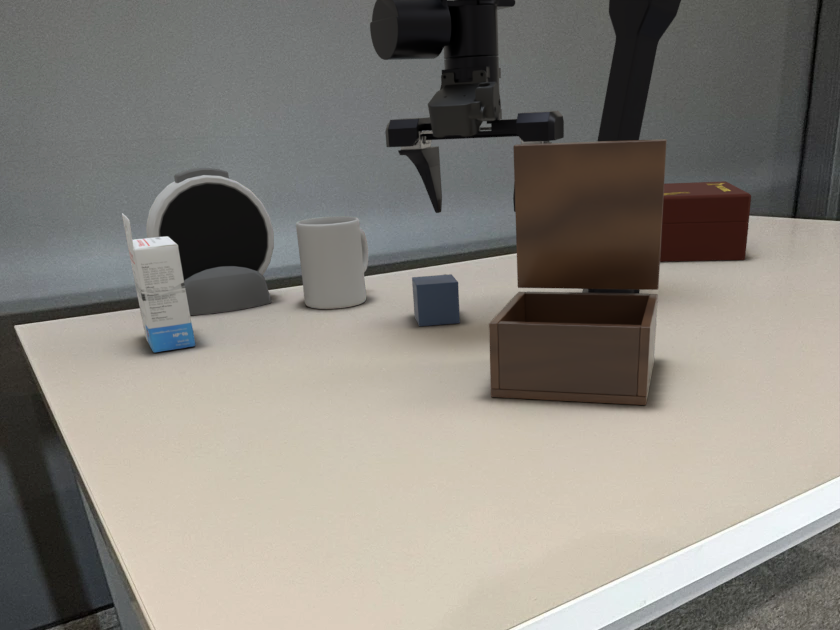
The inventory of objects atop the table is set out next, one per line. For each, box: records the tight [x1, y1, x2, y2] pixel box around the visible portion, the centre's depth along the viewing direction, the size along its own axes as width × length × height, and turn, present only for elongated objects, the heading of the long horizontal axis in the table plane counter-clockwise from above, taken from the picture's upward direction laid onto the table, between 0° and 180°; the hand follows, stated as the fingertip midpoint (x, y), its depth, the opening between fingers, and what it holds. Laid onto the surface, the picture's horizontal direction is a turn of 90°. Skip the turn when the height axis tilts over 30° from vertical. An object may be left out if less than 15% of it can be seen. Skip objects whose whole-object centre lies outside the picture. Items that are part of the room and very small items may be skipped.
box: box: [660, 180, 752, 263], centre depth 133 cm, size 21×16×10 cm
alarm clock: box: [145, 166, 275, 316], centre depth 108 cm, size 16×10×18 cm, turn 117°
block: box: [411, 273, 461, 327], centre depth 97 cm, size 5×5×5 cm
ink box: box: [121, 212, 196, 353], centre depth 91 cm, size 8×5×15 cm, turn 26°
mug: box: [295, 215, 369, 310], centre depth 109 cm, size 12×8×11 cm
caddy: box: [488, 291, 659, 406], centre depth 74 cm, size 13×14×7 cm
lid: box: [513, 138, 668, 291], centre depth 74 cm, size 13×14×1 cm
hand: (477, 212), depth 89 cm, fingers open, 9 cm apart
